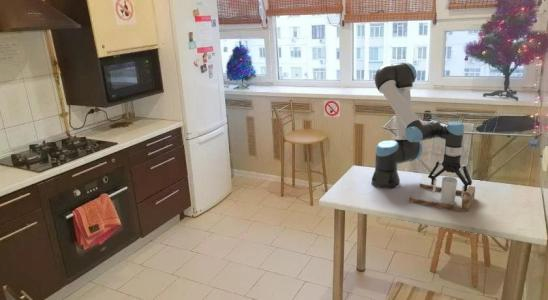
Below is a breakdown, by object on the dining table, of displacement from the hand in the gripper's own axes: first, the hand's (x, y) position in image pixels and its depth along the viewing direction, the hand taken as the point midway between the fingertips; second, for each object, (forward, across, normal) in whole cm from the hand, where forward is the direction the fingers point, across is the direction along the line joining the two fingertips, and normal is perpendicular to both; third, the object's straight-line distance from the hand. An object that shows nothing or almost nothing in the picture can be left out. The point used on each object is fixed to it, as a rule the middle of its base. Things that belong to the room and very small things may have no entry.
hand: (448, 194), depth 210 cm
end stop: (+3, +10, 0) cm, 10 cm away
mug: (+3, 0, 0) cm, 3 cm away
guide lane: (+3, -4, 0) cm, 5 cm away
